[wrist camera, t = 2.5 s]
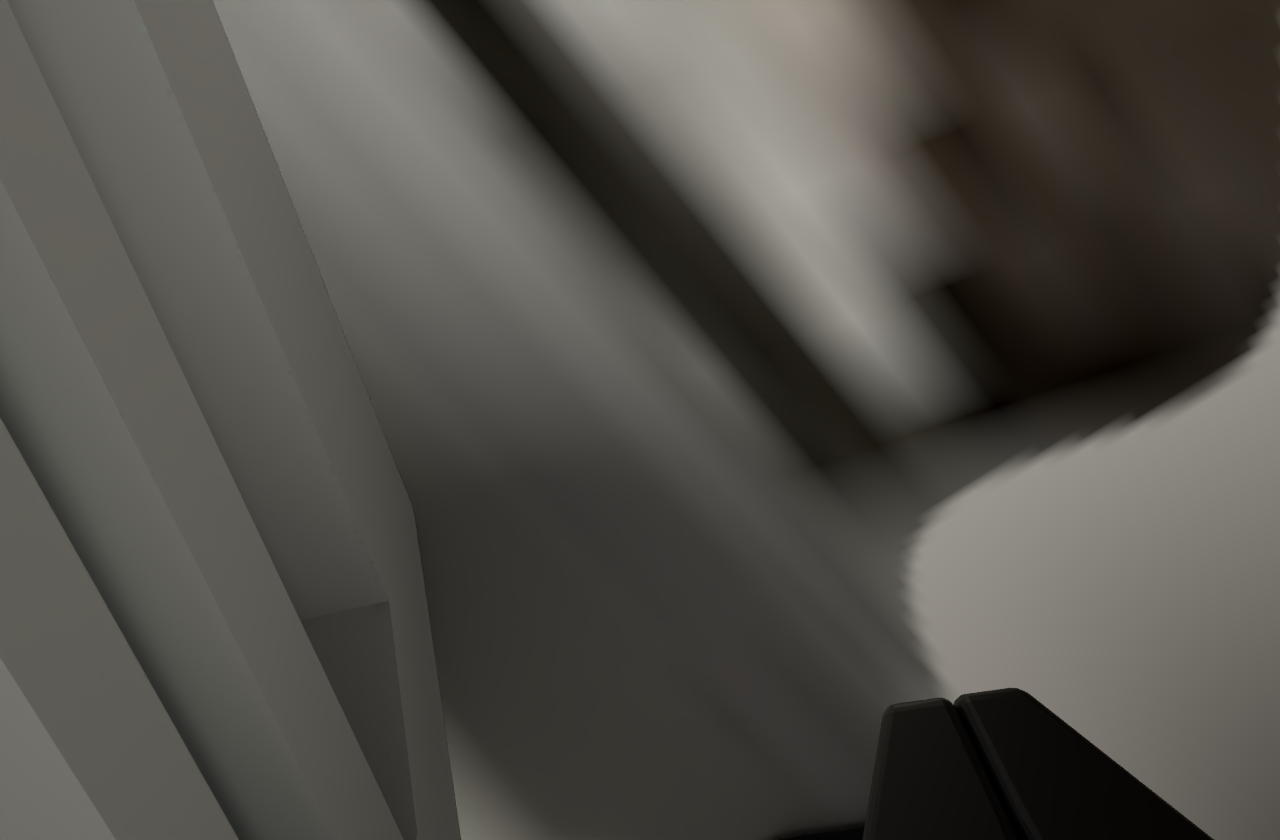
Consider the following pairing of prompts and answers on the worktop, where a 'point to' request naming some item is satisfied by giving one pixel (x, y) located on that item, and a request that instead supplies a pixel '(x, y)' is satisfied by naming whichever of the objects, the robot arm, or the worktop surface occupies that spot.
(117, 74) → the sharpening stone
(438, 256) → the worktop surface
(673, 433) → the worktop surface
